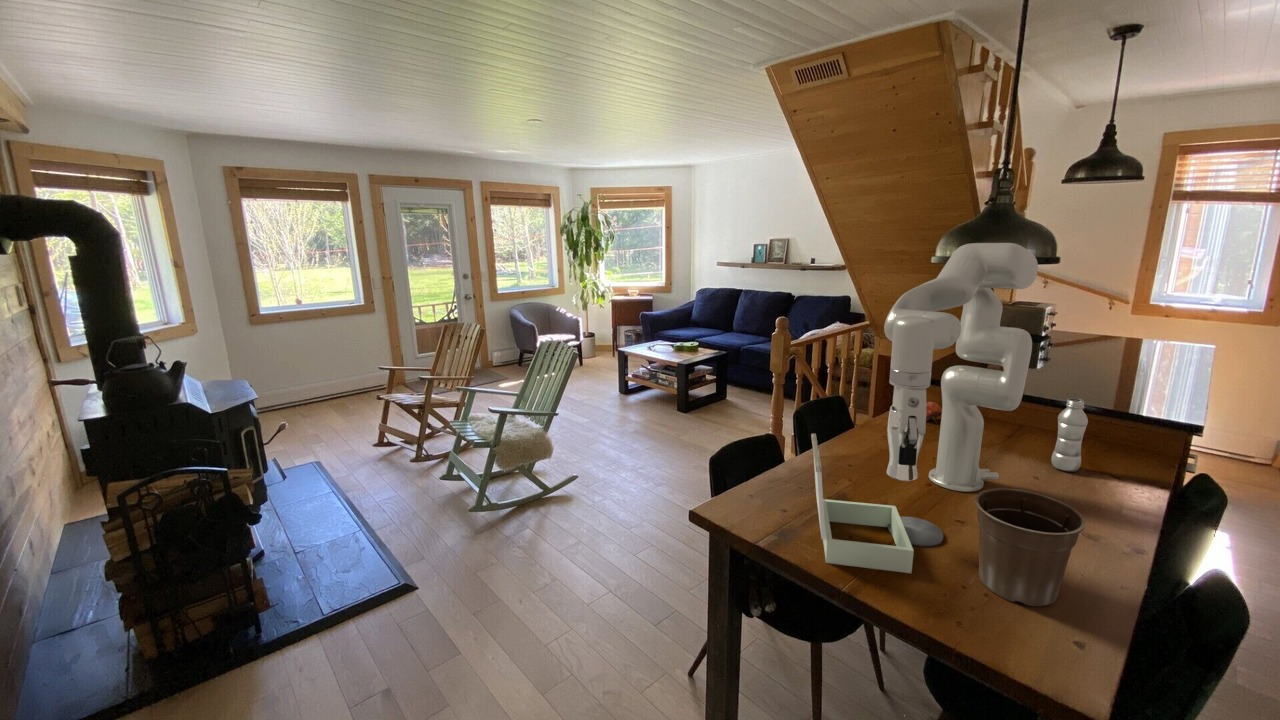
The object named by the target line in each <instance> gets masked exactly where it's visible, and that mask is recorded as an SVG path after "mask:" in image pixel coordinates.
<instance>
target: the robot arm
mask: <svg viewBox="0 0 1280 720" xmlns="http://www.w3.org/2000/svg"><path fill="white" fill-rule="evenodd" d="M1038 270H1039V265H1038V259H1037V257H1036V256H1035V255H1034V253H1032V252H1031V251H1030V250H1028V249H1027V248H1025V247H1024V246H1023V245H1020V244H1018V243H1013V242H976V243H975V242H973V243H966V244H963V245H961V246H959V247H957V248H956V249H955V251H953V253H952V255H951V256H950V257H949V259H948V260H947V262H946V263H945V265H944V266H943V268H942V269H941V271H940V272H939V273H938V276H937V277H936V278H934V279H931V280H929V281H927V282H923V283H922V284H920V285H918V286H916V287H913V288H911V289H910V290H908V291H906V292H904V293H903V294H902V295H900V297H898V299H897V300H896V302H895V303H894V304H893V306H892V307H891V309H890V310H889V312H888V314H887V316H886V319H885V320H884V321H885V322H884V326H883V329H884V334H885V337H886V338H887V339H888V340H889V341H891V342H892V343H891V357H890V367H889V368H890V370H889V381H888V382H889V384H890V386H891V385H892V386H893V395H892V405H893V410H894V411H897V422H898V432H899V433H901V434H902V438H901V446H900V447H899V460H898V463H899V464H900V465H910V466H915V465H916V455H917V429H918V432H919V434H921V435H925V434H926V430H927V429H926V428H927V427H926V426H927V425H926V423H927V421H926V403H927V389H928V388H929V387H931V381H932V379H931V378H932V367H933V357H934V350H941V349H942V350H943V349H947V348H950V347H951V346H953V345H954V344H955V354H956V355H957V356H958V357H959V358H960V359H962V360H965V361H969V362H976V363H982V364H990V365H996V366H1001V367H1002V368H1003V370H998V369H990V368H985V367H978V366H970V365H953V366H950V367H948V368H946V369H945V370H944V371H943V373H942V376H941V379H940V388H941V403H942V404H941V405H942V407H941V409H942V414H941V417H940V418H941V420H940V427H939V438H938V447H937V457H936V466H935V467H934V468H932V469H930V470H929V472H928V478H929V480H930V481H932V482H933V483H934V485H938V486H940V487H942V488H944V489H948V490H951V491H956V492H964V493H965V492H969V493H970V492H977V491H980V490H981V489H983V488H984V481H985V480H991V481H998V480H1000V475H999V472H995V471H994V472H991V471H990V469H989V468H988V469H987V468H980V467H979V465H980V464H979V463H980V458H981V447H982V441H983V433H984V426H985V421H984V417H983V415H982V413H981V411H980V410H979V408H978V407H983V408H988V409H994V410H1000V411H1007V412H1008V411H1014V410H1016V409H1017V408H1018V407H1019V405H1020V404H1021V402H1022V398H1023V395H1024V390H1025V385H1026V380H1027V376H1028V370H1029V366H1030V361H1031V357H1032V351H1033V340H1032V336H1031V334H1030V333H1029V332H1028V331H1027V330H1025V329H1022V328H1019V327H1008V326H1001V319H1002V314H1003V309H1004V307H1003V303H1002V301H1001V300H1000V299H999V297H998V295H997V293H995V292H994V290H993V289H1005V290H1006V289H1009V290H1024V289H1027V288H1029V287H1030V286H1032V285H1033V284H1034V282H1035V281H1036V279H1037V276H1038V272H1039V271H1038ZM957 307H962V312H961V313H962V314H961V317H960V320H959V318H958V317H957V316H956V315H954V314H952V313H949V312H944V311H945V310H949V309H953V308H957ZM942 311H943V312H942ZM907 425H908V428H909V433H908V432H904V429H905V428H906V427H907ZM916 426H917V428H916ZM905 435H908V436H909V438H907V439H906V441H905Z"/></svg>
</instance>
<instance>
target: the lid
mask: <svg viewBox="0 0 1280 720" xmlns="http://www.w3.org/2000/svg"><path fill="white" fill-rule="evenodd" d="M810 436H811V437H810V438H811V444H812V451H813V454H812V455H813V466H814V483H815V494H816V503H817V504H816V505H817V506H816V507H817V512H818V514H817V515H818V520H819V528H820V538H821V540H822V541H823V540H826V535H825V520H824V504H823V499H824V493H823V477H822V475H823V474H822V464H821V459H820V451H819V445H818V440H817V439H818V438H817V434H816V433H811V434H810Z"/></svg>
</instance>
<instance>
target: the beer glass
mask: <svg viewBox="0 0 1280 720" xmlns="http://www.w3.org/2000/svg"><path fill="white" fill-rule="evenodd" d="M916 428H917V426H916ZM886 432H887V441H888V451H889V461H888V465H887V469H886V475H888V476H889V477H890V478H892V479H895V480H898V481H902V482H903V481H905V482H910V481H915V480H917V479H918V478H919V473H918V465H917V463H918V457H919V454H920V450H921V448H922V444H923V441H924V437H925V436H924V435H925V434H924V435H921V434H919V432H918V429H917V455H916V465H915V466H910V465H900V464H899V463H898V460H899V447H900V446H901V438H902V434H901V433H899V432H898V422H897V411H894V410H893V404H892V405H890V407H889V412H888V420H887V431H886ZM904 432H908V433H909V428H908V425H907V427H906V428H905V429H904ZM907 438H909V436H908V435H905V441H906V439H907Z"/></svg>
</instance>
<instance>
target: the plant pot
mask: <svg viewBox="0 0 1280 720" xmlns="http://www.w3.org/2000/svg"><path fill="white" fill-rule="evenodd" d="M974 503H975V506H976V508H977V521H978V523H979V536H978V537H979V541H978V542H979V544H978V545H979V546H978V547H979V552H978V553H979V557H978V563H979V564H978V566H979V567H978V575H979V580H980V581H981V582H982V584H983V585H984V586H985V588H987V589H988V590H989V591H991V592H992V593H994V594H995V595H997V596H998V597H1000V598H1003V599H1005V600H1007V601H1009V602H1011V603H1013V602H1019V603H1022V604H1024V605H1025V606H1028V607H1045V606H1049V605H1051V604H1054V603H1055V602H1056V601H1057V599H1058V596H1059V592H1060V589H1061V586H1062V582H1063V579H1064V576H1065V572H1066V569H1067V566H1068V562H1069V559H1070V556H1071V554H1072V553H1071V552H1072V549H1073V548H1074V547H1075V546H1076V545H1077V542H1078V539H1079V535H1080V533H1081V532H1082V531H1084V529H1085V528H1086V527H1085V526H1086V520H1085V518H1084V516H1083V515H1082V514H1081V513H1080V512H1079V511H1078V510H1076V509H1075V508H1074V507H1072V506H1070V505H1068V504H1067V503H1064V502H1063V501H1060V500H1058V499H1055V498H1053V497H1050V496H1047V495H1044V494H1040V493H1036V492H1033V491H1028V490H1025V489H1017V488H992V489H986V490H983V491H980V492H979V493H978V494H976V496H975V499H974Z"/></svg>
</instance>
